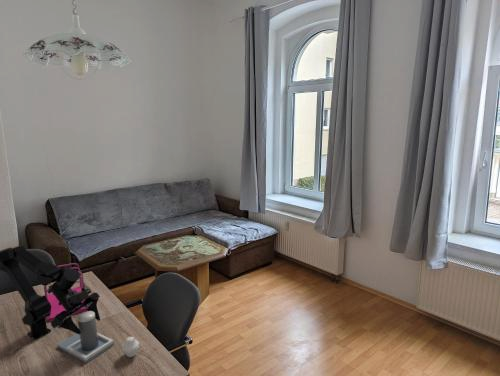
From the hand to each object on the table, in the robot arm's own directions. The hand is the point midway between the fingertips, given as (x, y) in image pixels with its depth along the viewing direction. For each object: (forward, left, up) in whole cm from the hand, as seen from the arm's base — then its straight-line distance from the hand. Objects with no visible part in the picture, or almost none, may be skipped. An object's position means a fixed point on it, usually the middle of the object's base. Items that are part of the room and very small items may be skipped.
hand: (90, 326), depth 133 cm
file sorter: (-41, +15, -10) cm, 45 cm away
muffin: (+15, +5, -10) cm, 19 cm away
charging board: (-4, 0, -10) cm, 10 cm away
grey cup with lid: (-1, 0, -9) cm, 9 cm away
